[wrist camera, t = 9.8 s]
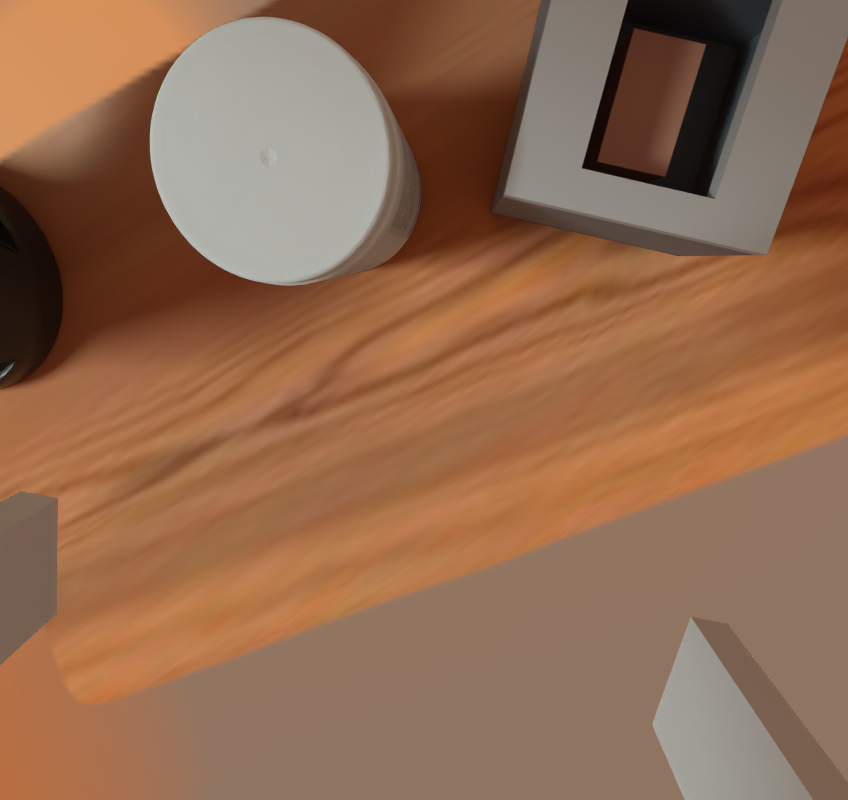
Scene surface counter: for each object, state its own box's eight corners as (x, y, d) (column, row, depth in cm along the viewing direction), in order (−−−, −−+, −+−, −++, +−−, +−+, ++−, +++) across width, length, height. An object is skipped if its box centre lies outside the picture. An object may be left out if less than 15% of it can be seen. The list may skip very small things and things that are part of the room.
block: (634, 189, 33) (665, 176, 28) (576, 175, 33) (597, 161, 28) (667, 77, 31) (706, 44, 26) (606, 64, 31) (634, 28, 26)
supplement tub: (332, 76, 33) (238, -64, 19) (454, 183, 34) (453, 128, 20) (241, 209, 35) (95, 176, 21) (358, 306, 36) (296, 336, 22)
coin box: (490, 212, 34) (504, 194, 25) (543, -6, 31) (582, -126, 22) (678, 255, 34) (767, 254, 25) (749, 41, 31) (882, -56, 22)
